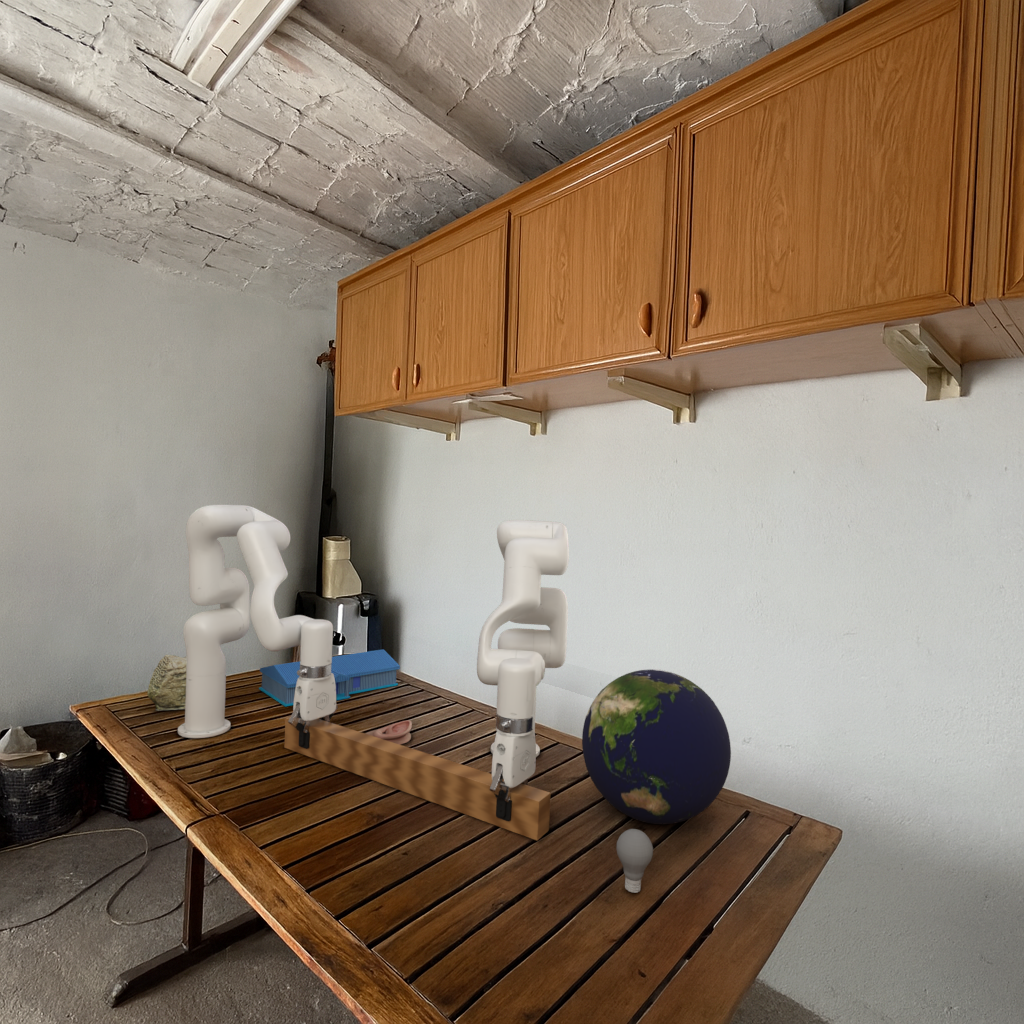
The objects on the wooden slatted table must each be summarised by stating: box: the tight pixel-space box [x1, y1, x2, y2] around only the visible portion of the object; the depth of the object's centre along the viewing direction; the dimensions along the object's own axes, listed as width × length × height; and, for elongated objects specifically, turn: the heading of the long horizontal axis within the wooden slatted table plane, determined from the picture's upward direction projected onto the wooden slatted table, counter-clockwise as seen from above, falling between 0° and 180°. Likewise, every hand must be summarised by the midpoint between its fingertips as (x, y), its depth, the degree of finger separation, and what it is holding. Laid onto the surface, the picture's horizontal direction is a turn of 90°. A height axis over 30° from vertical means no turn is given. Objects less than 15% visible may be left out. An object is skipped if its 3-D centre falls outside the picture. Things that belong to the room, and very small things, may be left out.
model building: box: [258, 649, 401, 707], centre depth 208 cm, size 39×24×10 cm, turn 132°
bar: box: [284, 715, 552, 841], centre depth 141 cm, size 73×5×8 cm, turn 58°
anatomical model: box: [364, 719, 413, 745], centre depth 166 cm, size 13×4×12 cm
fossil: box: [147, 654, 187, 712], centre depth 185 cm, size 9×18×15 cm, turn 132°
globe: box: [581, 668, 732, 825], centre depth 131 cm, size 30×30×30 cm
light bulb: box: [615, 828, 654, 894], centre depth 106 cm, size 6×6×10 cm
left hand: (312, 743), depth 156 cm, fingers closed on bar, 4 cm apart
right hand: (510, 812), depth 126 cm, fingers closed on bar, 4 cm apart
